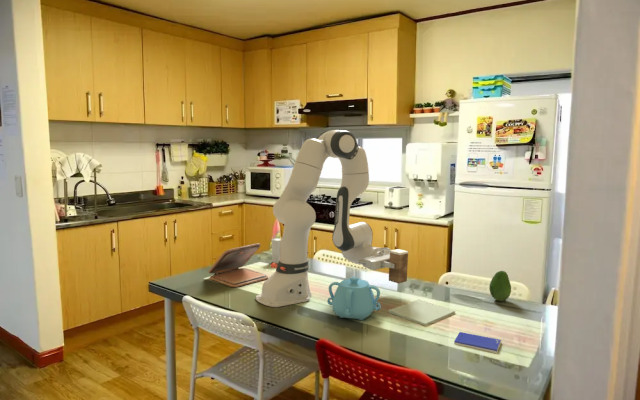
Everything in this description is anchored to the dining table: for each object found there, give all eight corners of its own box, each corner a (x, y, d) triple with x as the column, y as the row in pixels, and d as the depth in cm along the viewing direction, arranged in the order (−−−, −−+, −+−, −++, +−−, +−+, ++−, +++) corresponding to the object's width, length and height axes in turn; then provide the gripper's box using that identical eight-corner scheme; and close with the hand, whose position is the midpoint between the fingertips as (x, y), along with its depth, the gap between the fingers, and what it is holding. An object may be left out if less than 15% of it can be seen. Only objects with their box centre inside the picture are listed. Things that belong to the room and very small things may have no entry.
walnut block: (398, 283, 172) (400, 253, 171) (388, 280, 176) (389, 250, 175) (406, 281, 176) (408, 251, 174) (396, 278, 179) (398, 248, 178)
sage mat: (425, 325, 151) (425, 323, 151) (388, 312, 163) (388, 310, 163) (455, 313, 162) (455, 310, 162) (418, 301, 174) (418, 299, 174)
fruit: (510, 299, 178) (512, 269, 176) (510, 305, 171) (511, 274, 169) (489, 296, 181) (491, 267, 180) (487, 302, 174) (489, 272, 172)
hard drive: (501, 339, 138) (460, 331, 144) (497, 349, 131) (454, 340, 137) (500, 344, 139) (459, 335, 145) (497, 354, 131) (454, 345, 137)
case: (243, 270, 217) (242, 237, 215) (271, 279, 203) (270, 244, 201) (206, 279, 203) (205, 244, 201) (233, 289, 188) (232, 252, 186)
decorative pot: (384, 320, 156) (385, 282, 154) (342, 326, 150) (343, 286, 149) (363, 304, 171) (364, 269, 169) (324, 309, 165) (325, 273, 164)
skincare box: (285, 263, 230) (285, 239, 228) (278, 264, 227) (278, 241, 225) (278, 260, 234) (278, 237, 233) (271, 262, 231) (271, 238, 230)
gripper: (356, 253, 178) (382, 260, 167) (389, 247, 191) (416, 253, 181) (355, 269, 178) (382, 277, 168) (389, 261, 192) (415, 268, 182)
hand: (400, 264), depth 175 cm, fingers closed on walnut block, 5 cm apart
